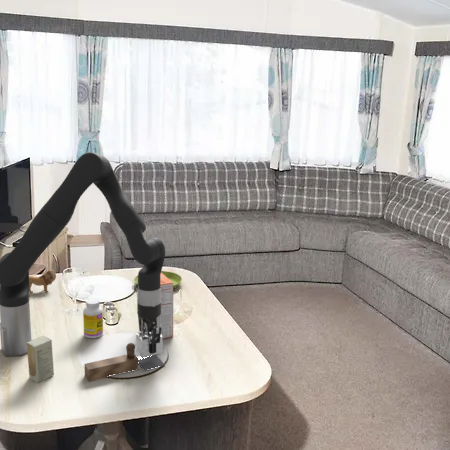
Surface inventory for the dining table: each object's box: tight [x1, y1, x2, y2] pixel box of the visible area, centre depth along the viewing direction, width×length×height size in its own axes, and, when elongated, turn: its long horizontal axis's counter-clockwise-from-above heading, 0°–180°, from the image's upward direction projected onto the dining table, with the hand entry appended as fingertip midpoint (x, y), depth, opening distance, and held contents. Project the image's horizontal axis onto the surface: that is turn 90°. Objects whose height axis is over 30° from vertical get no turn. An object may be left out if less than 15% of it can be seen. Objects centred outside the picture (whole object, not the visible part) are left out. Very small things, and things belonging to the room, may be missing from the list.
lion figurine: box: [29, 269, 57, 294], centre depth 245 cm, size 15×5×9 cm, turn 108°
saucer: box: [133, 270, 183, 290], centre depth 257 cm, size 21×21×3 cm
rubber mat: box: [138, 354, 166, 371], centre depth 191 cm, size 7×9×1 cm
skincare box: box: [26, 335, 55, 384], centre depth 179 cm, size 6×4×12 cm
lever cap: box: [135, 332, 164, 358], centre depth 190 cm, size 7×5×7 cm
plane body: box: [83, 342, 139, 382], centre depth 183 cm, size 16×4×9 cm, turn 120°
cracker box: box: [157, 273, 174, 340], centre depth 211 cm, size 14×6×21 cm, turn 27°
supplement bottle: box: [82, 298, 104, 339], centre depth 207 cm, size 7×7×13 cm
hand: (149, 349), depth 190 cm, fingers closed on lever cap, 5 cm apart
